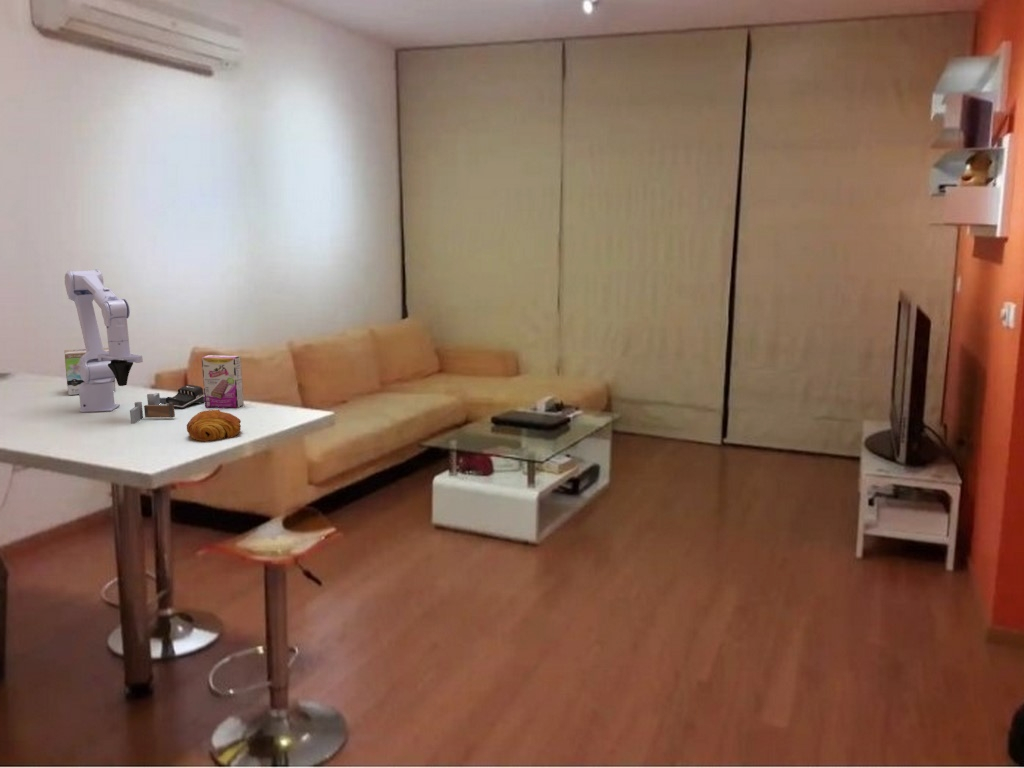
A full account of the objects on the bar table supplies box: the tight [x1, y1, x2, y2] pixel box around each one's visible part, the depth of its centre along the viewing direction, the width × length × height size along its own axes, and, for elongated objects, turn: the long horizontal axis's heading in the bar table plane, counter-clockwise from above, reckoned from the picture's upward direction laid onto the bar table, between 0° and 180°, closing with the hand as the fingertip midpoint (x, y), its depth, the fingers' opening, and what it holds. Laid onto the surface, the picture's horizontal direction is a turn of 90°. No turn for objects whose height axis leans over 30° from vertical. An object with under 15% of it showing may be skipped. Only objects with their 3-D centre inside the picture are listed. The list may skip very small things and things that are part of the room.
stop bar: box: [160, 397, 205, 404], centre depth 281 cm, size 16×2×2 cm, turn 96°
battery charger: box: [165, 384, 204, 410], centre depth 277 cm, size 7×4×11 cm
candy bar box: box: [201, 354, 245, 409], centre depth 274 cm, size 11×5×16 cm, turn 84°
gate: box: [143, 402, 176, 419], centre depth 259 cm, size 2×9×4 cm, turn 89°
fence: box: [129, 392, 161, 424], centre depth 265 cm, size 2×25×5 cm, turn 6°
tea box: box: [64, 347, 116, 396], centre depth 299 cm, size 15×10×15 cm
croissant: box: [186, 409, 242, 442], centre depth 239 cm, size 14×16×8 cm
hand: (122, 385), depth 257 cm, fingers closed
